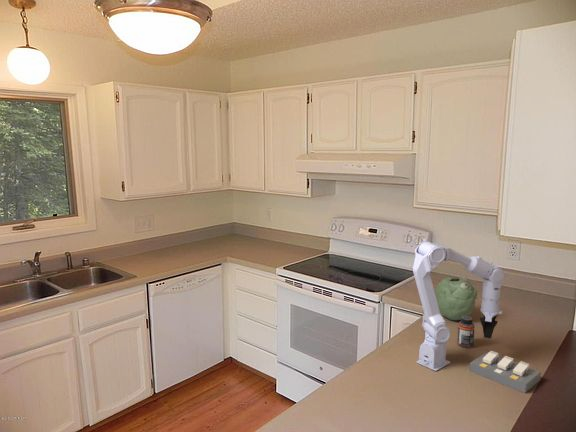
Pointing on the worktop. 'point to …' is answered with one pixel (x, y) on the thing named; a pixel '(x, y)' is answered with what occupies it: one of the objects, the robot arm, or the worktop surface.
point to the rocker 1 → (490, 357)
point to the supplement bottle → (466, 332)
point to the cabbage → (455, 297)
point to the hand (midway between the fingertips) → (488, 333)
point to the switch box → (505, 374)
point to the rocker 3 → (521, 368)
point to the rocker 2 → (505, 362)
